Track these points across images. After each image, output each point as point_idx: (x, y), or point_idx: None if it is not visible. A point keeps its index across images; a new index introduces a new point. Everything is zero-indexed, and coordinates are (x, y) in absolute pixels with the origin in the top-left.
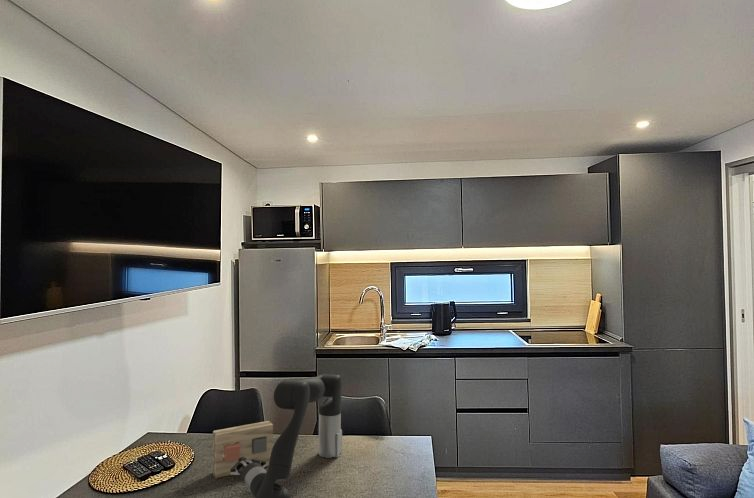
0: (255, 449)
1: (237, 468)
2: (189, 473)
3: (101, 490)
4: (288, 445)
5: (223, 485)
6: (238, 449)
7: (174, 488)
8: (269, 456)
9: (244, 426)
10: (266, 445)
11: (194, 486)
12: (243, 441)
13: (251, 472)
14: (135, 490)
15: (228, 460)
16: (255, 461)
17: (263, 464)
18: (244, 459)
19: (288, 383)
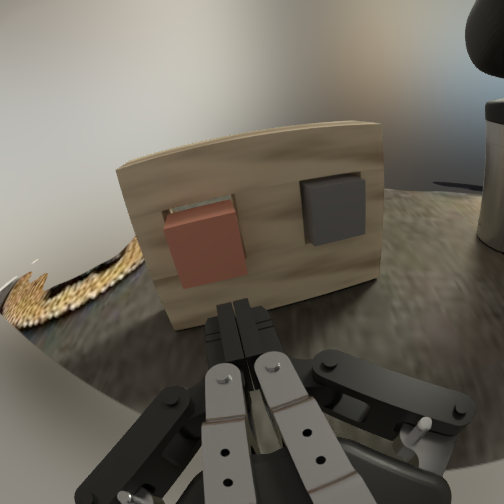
0: (320, 227)
1: (182, 435)
2: (126, 291)
3: (2, 311)
4: None
5: (189, 383)
6: (232, 231)
7: (65, 349)
8: (371, 251)
9: (257, 131)
10: (365, 210)
11: (105, 357)
12: (258, 192)
13: None
14: (21, 328)
15: (193, 283)
16: (365, 396)
17: (450, 434)
18: (249, 341)
19: None
